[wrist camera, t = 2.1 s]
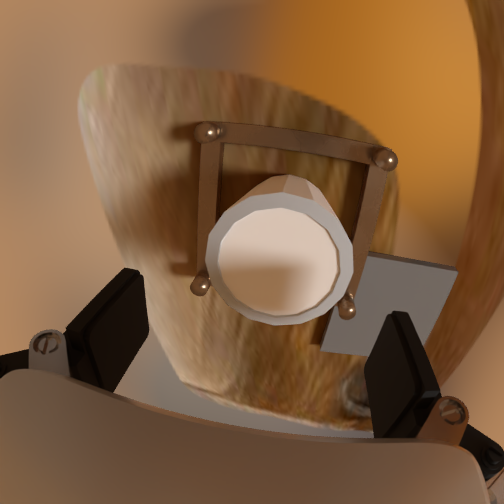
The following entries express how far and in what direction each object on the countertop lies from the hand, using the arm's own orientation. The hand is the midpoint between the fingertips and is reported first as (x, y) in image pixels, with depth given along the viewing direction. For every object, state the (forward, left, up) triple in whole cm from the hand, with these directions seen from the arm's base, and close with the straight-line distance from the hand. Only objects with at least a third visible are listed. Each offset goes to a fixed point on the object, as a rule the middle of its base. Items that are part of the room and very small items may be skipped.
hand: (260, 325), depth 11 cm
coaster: (+5, +9, -10) cm, 15 cm away
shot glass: (-1, 0, -11) cm, 11 cm away
